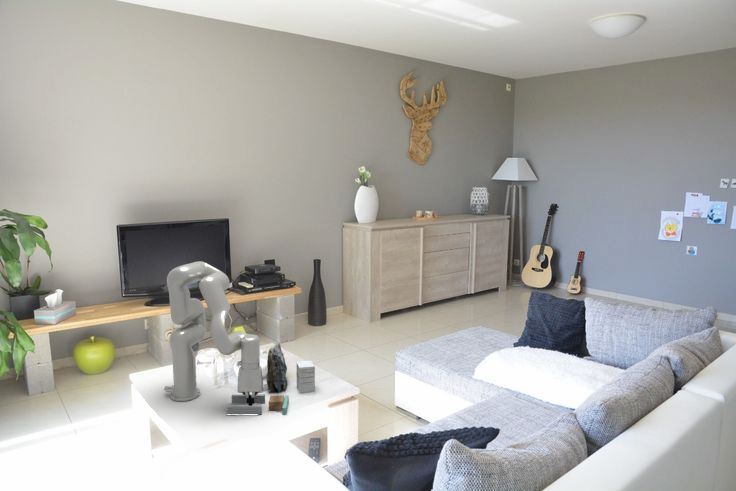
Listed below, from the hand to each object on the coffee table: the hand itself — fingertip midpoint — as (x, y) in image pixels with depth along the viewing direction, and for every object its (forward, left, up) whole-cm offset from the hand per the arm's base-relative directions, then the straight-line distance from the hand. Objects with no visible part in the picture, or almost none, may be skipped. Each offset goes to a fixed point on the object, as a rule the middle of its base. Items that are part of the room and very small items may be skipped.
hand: (250, 405), depth 220 cm
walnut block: (+11, 0, -2) cm, 11 cm away
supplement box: (+22, +18, -2) cm, 29 cm away
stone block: (+9, +23, -2) cm, 25 cm away
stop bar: (+15, 0, -1) cm, 15 cm away
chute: (-2, 0, -1) cm, 2 cm away
